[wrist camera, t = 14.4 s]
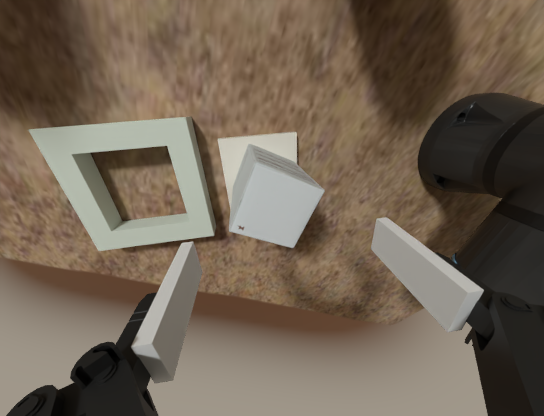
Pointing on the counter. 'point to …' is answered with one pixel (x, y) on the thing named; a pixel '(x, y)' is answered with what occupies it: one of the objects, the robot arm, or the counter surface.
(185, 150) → the holder
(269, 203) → the supplement box
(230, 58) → the counter surface
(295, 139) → the tile
